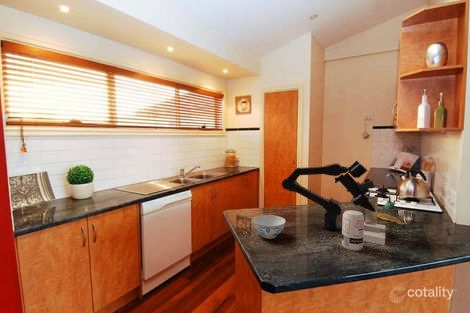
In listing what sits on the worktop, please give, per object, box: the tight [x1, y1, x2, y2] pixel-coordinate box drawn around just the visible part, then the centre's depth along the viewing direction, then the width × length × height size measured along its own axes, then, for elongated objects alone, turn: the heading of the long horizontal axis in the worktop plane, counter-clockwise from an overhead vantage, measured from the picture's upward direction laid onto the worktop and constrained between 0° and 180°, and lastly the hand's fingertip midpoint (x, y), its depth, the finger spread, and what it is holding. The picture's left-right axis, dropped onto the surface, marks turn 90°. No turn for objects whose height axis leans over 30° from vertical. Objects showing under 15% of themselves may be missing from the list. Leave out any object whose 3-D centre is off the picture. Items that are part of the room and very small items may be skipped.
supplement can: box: [341, 209, 365, 252], centre depth 106 cm, size 8×8×15 cm
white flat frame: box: [363, 221, 386, 246], centre depth 119 cm, size 12×18×3 cm, turn 149°
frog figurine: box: [377, 194, 404, 225], centre depth 140 cm, size 10×18×15 cm, turn 23°
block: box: [364, 195, 379, 226], centre depth 118 cm, size 4×4×12 cm
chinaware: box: [253, 214, 286, 240], centre depth 118 cm, size 15×15×8 cm
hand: (374, 210), depth 117 cm, fingers closed on block, 4 cm apart
